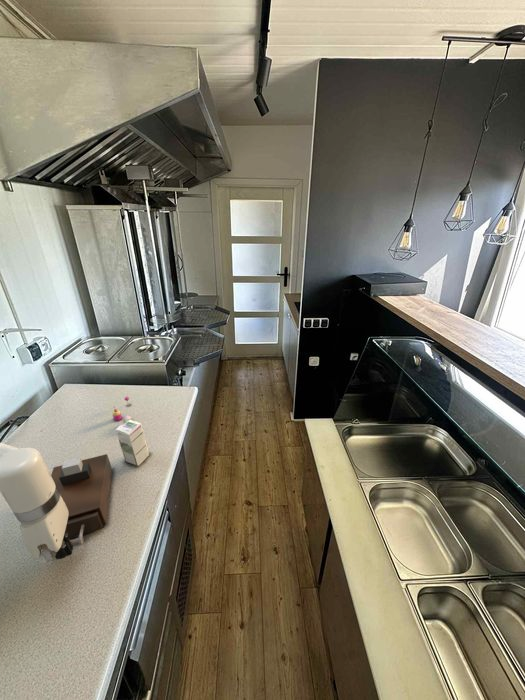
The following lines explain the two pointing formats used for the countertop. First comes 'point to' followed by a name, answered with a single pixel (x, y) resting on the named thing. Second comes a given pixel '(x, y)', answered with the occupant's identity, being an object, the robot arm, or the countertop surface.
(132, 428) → the syrup box
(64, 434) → the countertop surface
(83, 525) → the drawer
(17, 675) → the countertop surface
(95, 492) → the cabinet
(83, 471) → the two-tone rectangular prism
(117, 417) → the candy
